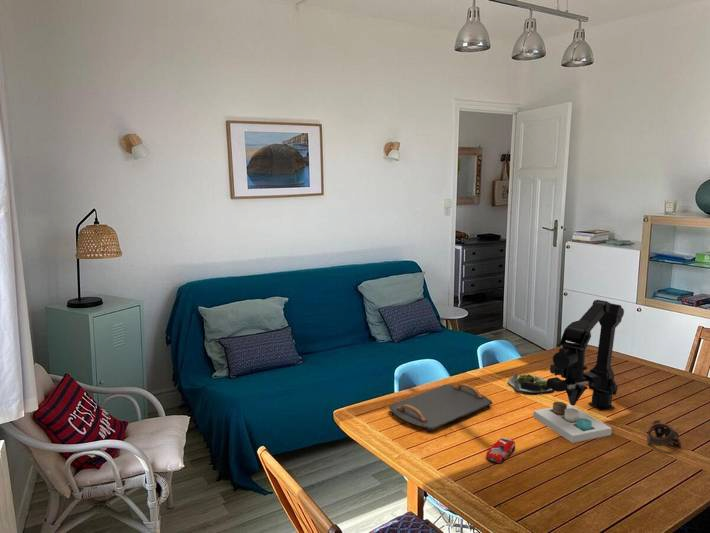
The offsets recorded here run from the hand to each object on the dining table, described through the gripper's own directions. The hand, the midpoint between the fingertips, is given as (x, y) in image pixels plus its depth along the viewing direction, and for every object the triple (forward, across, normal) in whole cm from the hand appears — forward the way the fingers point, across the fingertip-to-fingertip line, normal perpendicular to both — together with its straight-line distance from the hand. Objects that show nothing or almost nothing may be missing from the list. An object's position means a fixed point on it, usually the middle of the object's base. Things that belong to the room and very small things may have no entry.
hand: (572, 405), depth 184 cm
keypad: (+8, 0, 0) cm, 8 cm away
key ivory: (+5, 0, 0) cm, 5 cm away
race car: (+8, +34, +8) cm, 36 cm away
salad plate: (+8, -8, -34) cm, 36 cm away
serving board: (+8, +36, -26) cm, 46 cm away
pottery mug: (+8, -19, +20) cm, 29 cm away
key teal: (+6, 0, +6) cm, 9 cm away
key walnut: (+5, 0, -6) cm, 8 cm away
